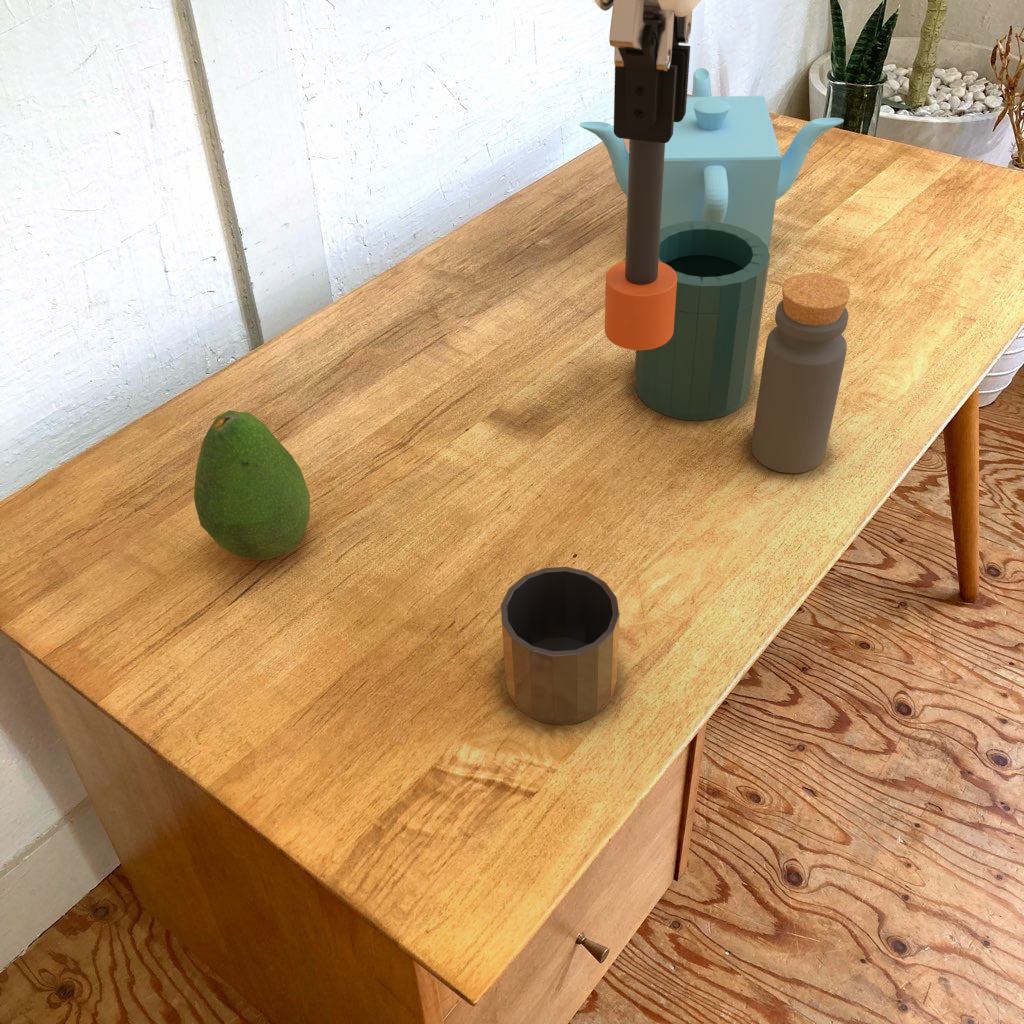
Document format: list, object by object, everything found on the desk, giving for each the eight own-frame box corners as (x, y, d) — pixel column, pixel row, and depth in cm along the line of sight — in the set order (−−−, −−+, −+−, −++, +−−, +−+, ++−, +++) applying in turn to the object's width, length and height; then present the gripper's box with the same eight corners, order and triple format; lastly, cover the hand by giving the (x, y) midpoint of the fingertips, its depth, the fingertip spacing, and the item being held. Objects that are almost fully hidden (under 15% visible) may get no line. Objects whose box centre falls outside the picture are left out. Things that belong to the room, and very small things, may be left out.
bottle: (801, 484, 82) (833, 321, 72) (736, 454, 85) (758, 293, 74) (838, 446, 85) (873, 284, 75) (774, 418, 88) (800, 259, 78)
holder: (628, 652, 71) (632, 581, 66) (597, 737, 66) (599, 668, 61) (527, 626, 73) (524, 556, 68) (490, 708, 68) (483, 638, 63)
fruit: (281, 496, 83) (248, 373, 75) (340, 545, 79) (312, 421, 71) (194, 546, 80) (150, 423, 72) (251, 601, 75) (211, 476, 67)
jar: (760, 362, 94) (779, 229, 85) (738, 430, 87) (756, 294, 78) (650, 344, 96) (658, 214, 88) (621, 408, 90) (626, 274, 81)
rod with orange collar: (681, 318, 68) (704, 11, 55) (663, 355, 65) (683, 41, 52) (616, 307, 70) (623, 5, 57) (595, 344, 67) (599, 33, 54)
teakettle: (709, 312, 100) (724, 165, 90) (571, 243, 110) (571, 104, 100) (829, 240, 109) (855, 99, 98) (691, 182, 119) (702, 49, 109)
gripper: (711, -255, 39) (680, 202, 52) (788, -310, 50) (747, 80, 63) (523, -255, 41) (537, 183, 54) (636, -309, 52) (625, 68, 65)
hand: (649, 125), depth 58 cm, fingers closed on rod with orange collar, 2 cm apart
